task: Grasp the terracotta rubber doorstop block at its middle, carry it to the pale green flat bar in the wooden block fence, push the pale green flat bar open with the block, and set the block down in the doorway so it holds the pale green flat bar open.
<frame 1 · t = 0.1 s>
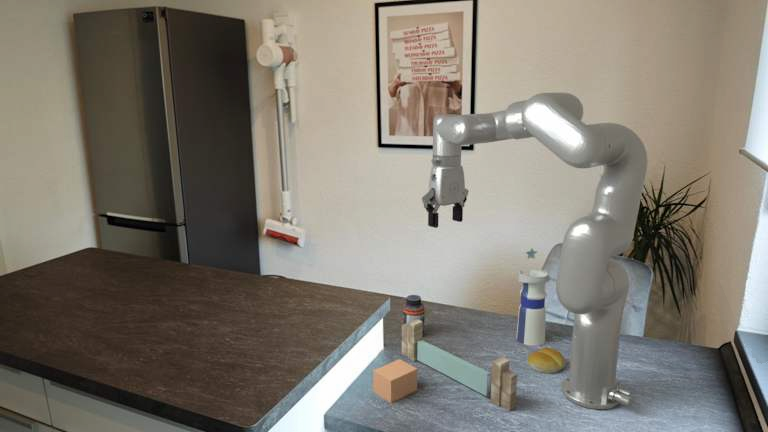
hand: (445, 223, 146), 31 cm above the table, fingers open, 9 cm apart
wooden block fence: (453, 378, 127), on the table
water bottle: (529, 339, 147), on the table
pale green flat bar: (454, 367, 126), point 3 cm above the table, hinge at 0.0°
doorstop block: (395, 391, 122), on the table
supplement bottle: (413, 335, 150), on the table
bread roll: (545, 366, 133), on the table
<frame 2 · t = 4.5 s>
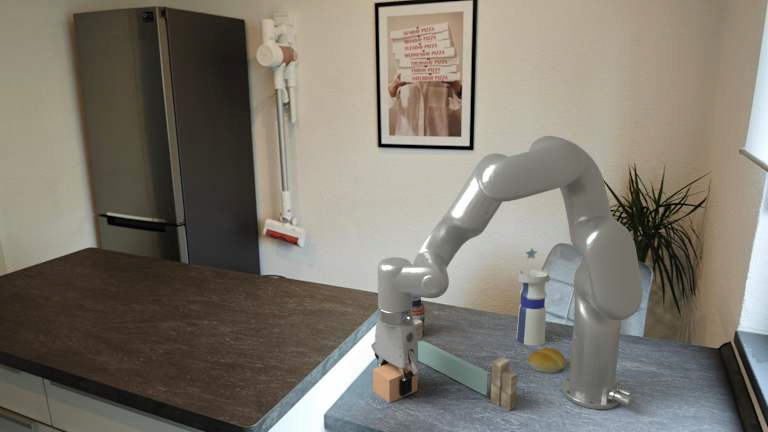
hand: (395, 386, 122), 1 cm above the table, fingers closed on doorstop block, 6 cm apart
doorstop block: (395, 390, 122), on the table, touching gripper
everything else where it was.
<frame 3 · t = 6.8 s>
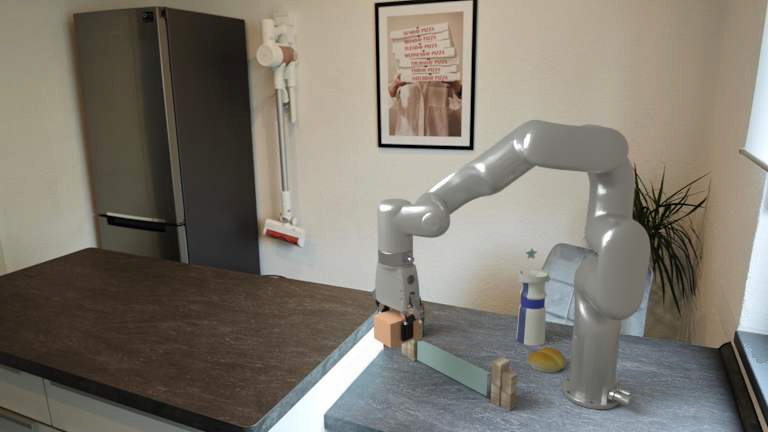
hand: (396, 333, 119), 14 cm above the table, fingers closed on doorstop block, 6 cm apart
doorstop block: (396, 337, 119), point 13 cm above the table, touching gripper
everything else where it was.
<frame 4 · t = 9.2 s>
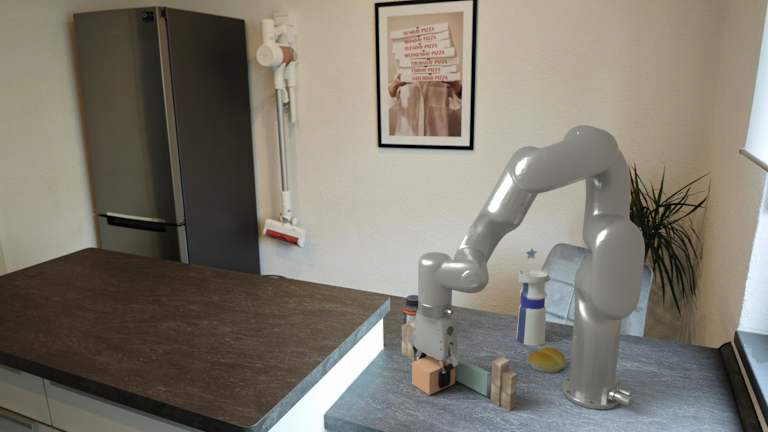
hand: (433, 379, 124), 1 cm above the table, fingers closed on doorstop block, 6 cm apart
doorstop block: (433, 383, 124), on the table, touching gripper
everything else where it was.
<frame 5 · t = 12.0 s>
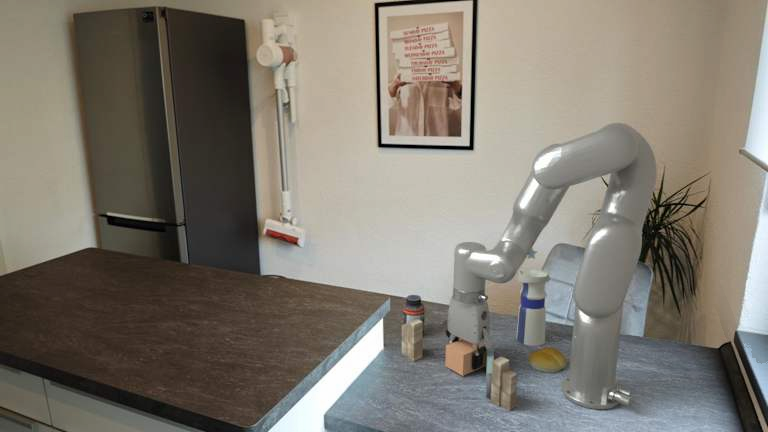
hand: (466, 361, 132), 2 cm above the table, fingers closed on doorstop block, 6 cm apart
pale green flat bar: (489, 362, 129), point 3 cm above the table, hinge at 50.7°, touching gripper
doorstop block: (465, 365, 132), on the table, touching gripper
everything else where it was.
when the fingers open (1 cm above the table, at t = 13.9 s): doorstop block stays where it is, on the table.
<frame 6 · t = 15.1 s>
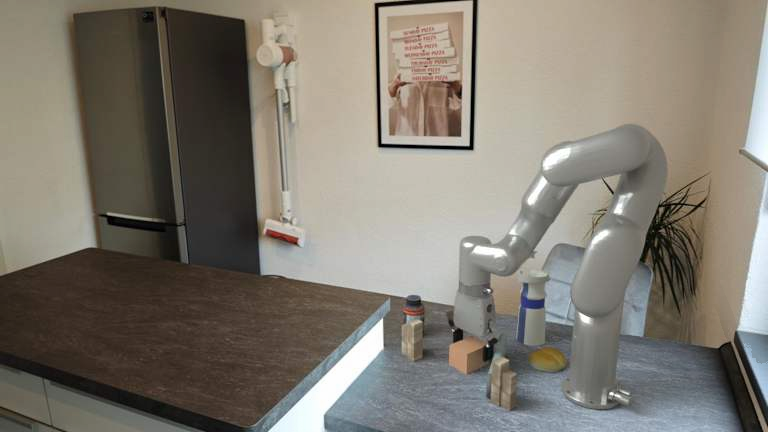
hand: (472, 352, 133), 3 cm above the table, fingers open, 9 cm apart
pale green flat bar: (497, 362, 128), point 3 cm above the table, hinge at 60.4°, touching gripper
doorstop block: (468, 364, 134), on the table
everything else where it was.
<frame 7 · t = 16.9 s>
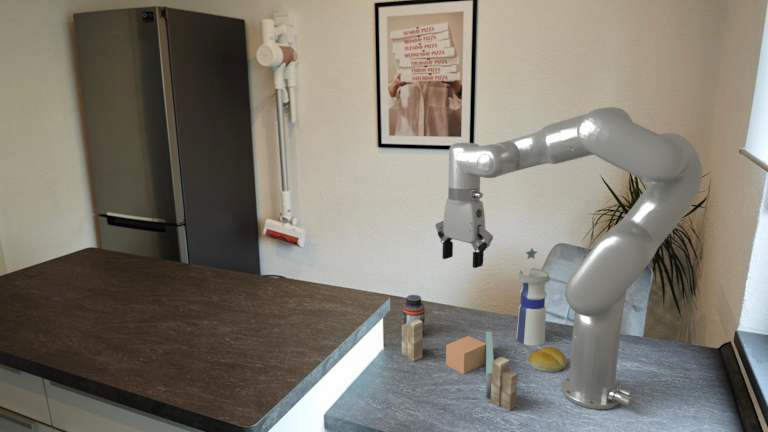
hand: (462, 262, 133), 25 cm above the table, fingers open, 9 cm apart
pale green flat bar: (489, 362, 129), point 3 cm above the table, hinge at 50.2°
everything else where it was.
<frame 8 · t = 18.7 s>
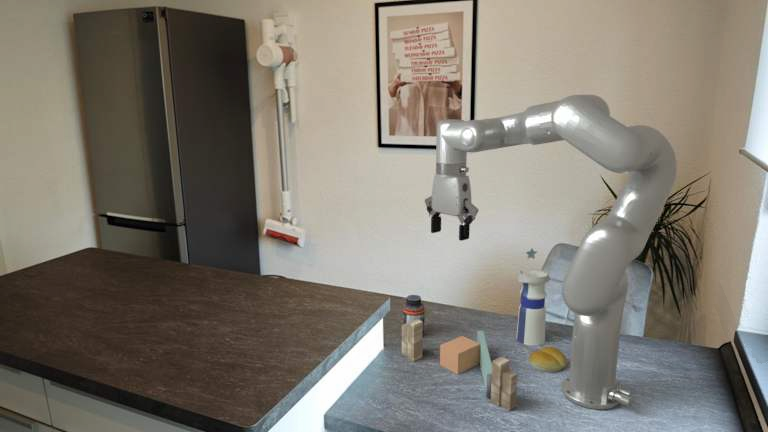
hand: (449, 235, 138), 30 cm above the table, fingers open, 9 cm apart
pale green flat bar: (485, 361, 129), point 3 cm above the table, hinge at 44.7°
doorstop block: (459, 364, 134), on the table
everything else where it was.
at the end: pale green flat bar at +45° (first picture: +0°); doorstop block inside the target area (3.0 cm from its centre), on the table; doorstop block tilted 0° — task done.
